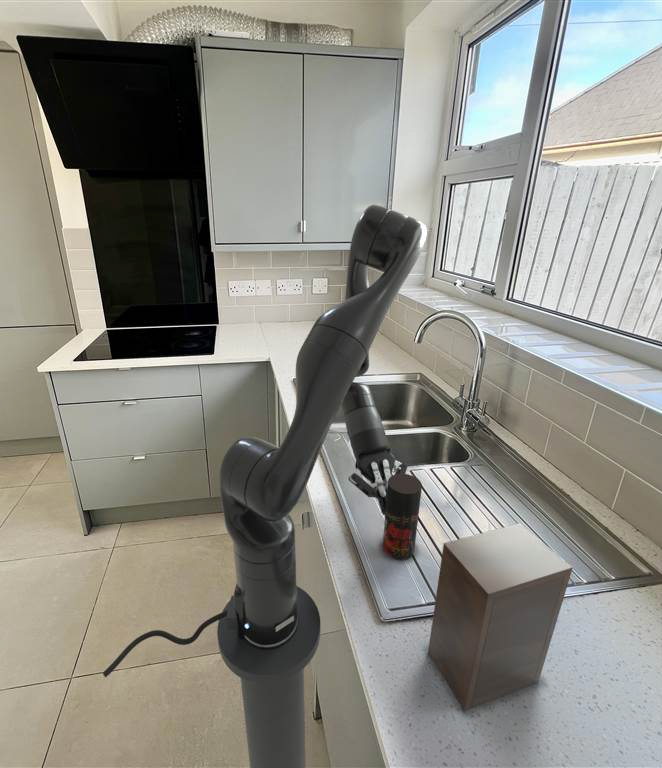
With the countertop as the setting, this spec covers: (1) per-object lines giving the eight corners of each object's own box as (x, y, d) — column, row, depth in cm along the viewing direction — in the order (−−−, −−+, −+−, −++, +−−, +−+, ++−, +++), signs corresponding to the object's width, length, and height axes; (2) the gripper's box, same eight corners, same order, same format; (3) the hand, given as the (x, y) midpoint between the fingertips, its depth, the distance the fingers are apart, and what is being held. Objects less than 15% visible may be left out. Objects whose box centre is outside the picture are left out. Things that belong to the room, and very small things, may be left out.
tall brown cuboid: (427, 652, 59) (443, 543, 51) (495, 628, 62) (519, 522, 55) (464, 711, 52) (488, 594, 44) (538, 681, 55) (573, 567, 48)
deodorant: (376, 541, 79) (381, 477, 74) (402, 533, 81) (409, 470, 76) (393, 564, 74) (399, 497, 68) (420, 554, 76) (429, 489, 70)
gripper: (342, 432, 80) (367, 522, 74) (401, 421, 84) (429, 506, 78) (332, 442, 87) (354, 525, 81) (387, 432, 90) (412, 511, 84)
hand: (391, 516), depth 79 cm, fingers closed
